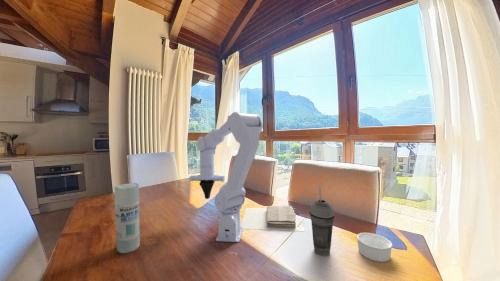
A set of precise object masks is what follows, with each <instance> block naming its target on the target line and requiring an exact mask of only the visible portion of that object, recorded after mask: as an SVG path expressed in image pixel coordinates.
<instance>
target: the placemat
mask: <svg viewBox="0 0 500 281" xmlns="http://www.w3.org/2000/svg"><path fill="white" fill-rule="evenodd" d="M296 225H297V224H296ZM297 226H298V225H297ZM297 226H296V227H293V228H287V227H267V207H246V209H245V212H244V215H243V219H242V222H241V224H240V227H242V228H243V230H259V231H261V230H264V231H265V230H266V231H286V232H287V231H289V232H305V228H304V226H303V227H302V228H301V226H299V227H297ZM300 228H301V229H300Z"/></svg>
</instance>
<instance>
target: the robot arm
mask: <svg viewBox="0 0 500 281" xmlns="http://www.w3.org/2000/svg"><path fill="white" fill-rule="evenodd" d="M263 126H264V125H263V122H262V119H261V116H260V115H259V114H257V113H242V112H238V111H235V112H234V111H233V112H231V114H230V115H229V116H227V119H226V121H225V122H224V123H223V124H222V125H221V126H220V127H219V128H212V129H211V131H210V132H209V133H207V134H206V135H205V136H199V137H198V138H197V140H196V148H197V150H198V151H199V174H198V175H190V176H189V182H195V181H196V182H199V186H200V188H201V190H202V192H203V195H204V199H205V200H206V199H207V200H208V199H209V200H210V198H211V194H212V193H211V192H212V189H213V186H214V185H215V183H216V182H223V183H224V182H225V181H226V178H225V175H216V174H215V155H216V149H217V146H218V145H220V144H222V143H223V142H224V140H225V137H227V136H228V135H230V134H232V136H233V137H234V139H235V141H236V142H237V143H239V147H238V151H237V154H236V156H235V159H234V162H233V165H232V168H231V171H230V174H229V176H228V180H227V182H226V184H224V185H223V186H222V187H221V188H219V191H218V192H217V193H216V194H215V196H214V206H215V208H216V209H217V211H218V212H219V214H220V215H219V216H220V218H219V221H218V226H217V227H218V234H217V236H216V238H215V241H216V242H225V243H226V242H232V243H239V242H240V240H241V237H242V232H243V230H244V229H243V228H242V227H241V209H242V208H243V207H242V206H243V205H244V203H245V201H246V199H245V198H246V193H247V191H246V189H245V187H244V184H245V183H246V179H247V176H248V173H249V171H250V169H251V167H252V163H253V161H254V159H255V157H256V154H257V151H258V147H259V145H260V144H259V143H260V134H261V133H262V129H263V128H264V127H263Z"/></svg>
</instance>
